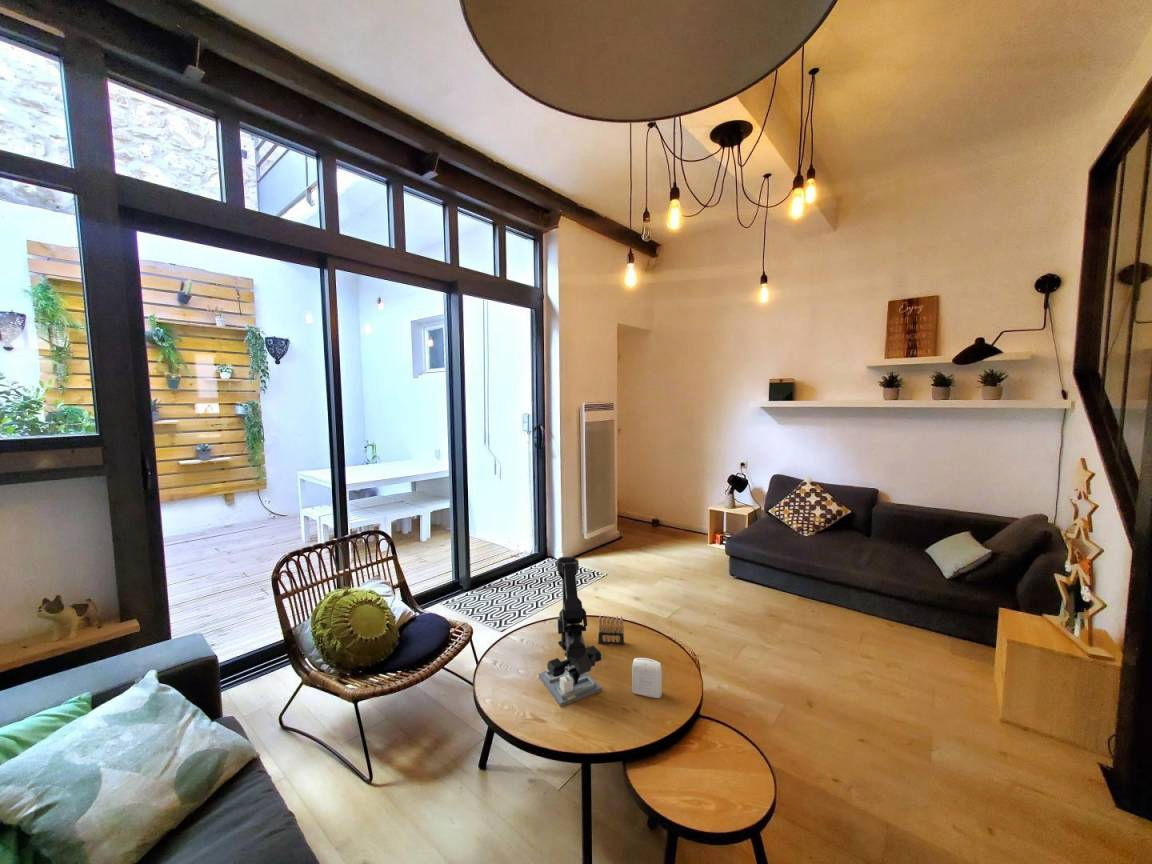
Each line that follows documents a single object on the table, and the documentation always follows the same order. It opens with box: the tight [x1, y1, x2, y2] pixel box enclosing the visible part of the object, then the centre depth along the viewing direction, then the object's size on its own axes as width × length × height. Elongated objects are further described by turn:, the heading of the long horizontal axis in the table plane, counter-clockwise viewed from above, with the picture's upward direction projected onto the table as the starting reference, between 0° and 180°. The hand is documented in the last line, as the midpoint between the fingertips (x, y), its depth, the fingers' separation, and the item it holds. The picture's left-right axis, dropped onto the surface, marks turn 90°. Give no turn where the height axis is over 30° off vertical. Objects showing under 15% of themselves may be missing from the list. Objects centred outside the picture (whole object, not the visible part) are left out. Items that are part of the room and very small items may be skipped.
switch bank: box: [538, 669, 602, 707], centre depth 159 cm, size 18×16×2 cm
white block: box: [560, 674, 573, 695], centre depth 153 cm, size 3×4×5 cm
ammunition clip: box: [597, 615, 625, 646], centre depth 184 cm, size 11×2×12 cm, turn 84°
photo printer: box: [631, 657, 663, 699], centre depth 153 cm, size 10×4×12 cm, turn 73°
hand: (575, 683), depth 155 cm, fingers closed
